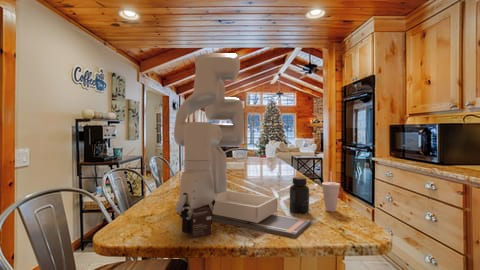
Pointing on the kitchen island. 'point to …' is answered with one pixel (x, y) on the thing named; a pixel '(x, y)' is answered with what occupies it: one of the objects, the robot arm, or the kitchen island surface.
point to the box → (201, 221)
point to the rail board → (271, 224)
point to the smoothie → (330, 194)
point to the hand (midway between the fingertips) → (197, 228)
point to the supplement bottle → (299, 196)
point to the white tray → (244, 206)
